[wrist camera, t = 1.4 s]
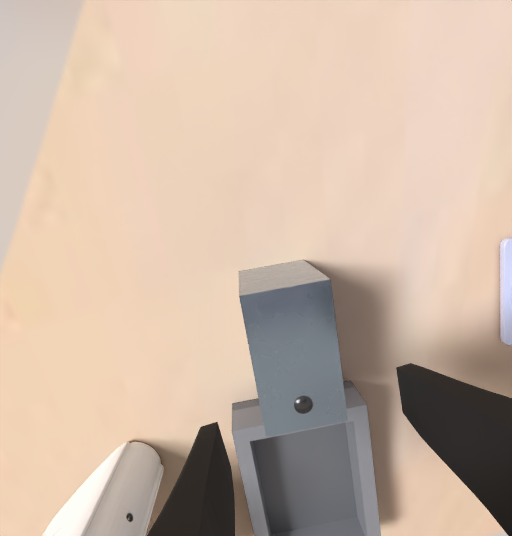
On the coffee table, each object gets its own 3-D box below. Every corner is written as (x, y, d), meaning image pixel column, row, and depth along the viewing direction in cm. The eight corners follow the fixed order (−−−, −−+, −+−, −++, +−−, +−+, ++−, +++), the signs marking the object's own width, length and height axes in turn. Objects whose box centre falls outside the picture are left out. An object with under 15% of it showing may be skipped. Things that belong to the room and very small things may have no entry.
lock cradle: (350, 380, 22) (366, 404, 19) (366, 513, 24) (382, 552, 22) (232, 403, 22) (231, 431, 19) (260, 536, 24) (263, 577, 21)
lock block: (303, 259, 20) (330, 279, 14) (317, 364, 22) (348, 421, 16) (238, 271, 20) (239, 296, 14) (258, 375, 22) (266, 437, 16)
